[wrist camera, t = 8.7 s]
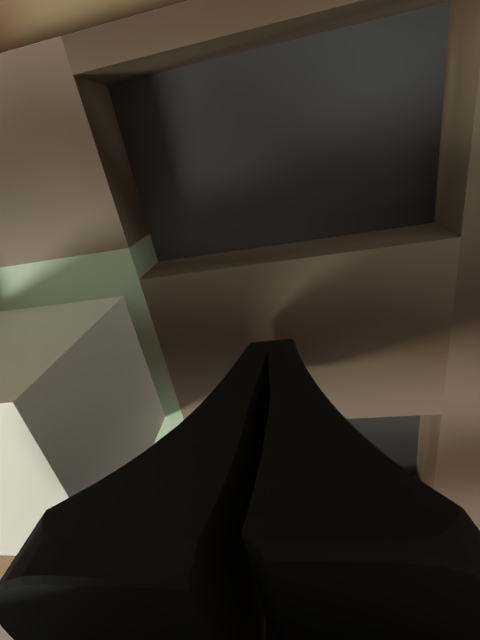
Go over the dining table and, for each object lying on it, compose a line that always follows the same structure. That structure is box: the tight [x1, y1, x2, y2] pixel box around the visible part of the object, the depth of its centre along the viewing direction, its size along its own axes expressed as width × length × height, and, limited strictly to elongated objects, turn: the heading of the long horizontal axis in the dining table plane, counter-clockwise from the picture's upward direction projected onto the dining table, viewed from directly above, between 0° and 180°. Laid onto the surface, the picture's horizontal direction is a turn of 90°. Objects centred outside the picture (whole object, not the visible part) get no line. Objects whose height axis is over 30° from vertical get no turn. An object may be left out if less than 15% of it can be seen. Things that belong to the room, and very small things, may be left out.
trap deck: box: [0, 0, 480, 526], centre depth 11 cm, size 18×25×4 cm
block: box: [0, 296, 165, 556], centre depth 10 cm, size 5×5×5 cm
